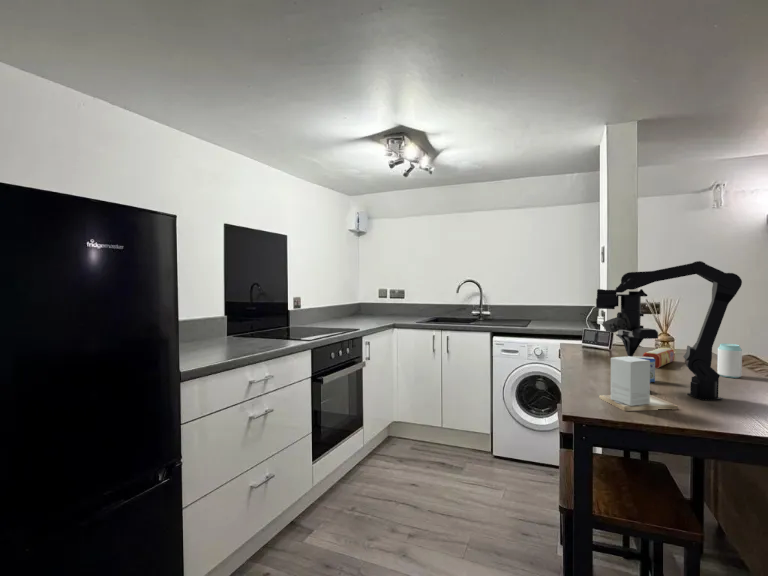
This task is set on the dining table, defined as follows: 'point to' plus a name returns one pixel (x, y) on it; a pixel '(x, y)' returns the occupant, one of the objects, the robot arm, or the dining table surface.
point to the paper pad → (653, 405)
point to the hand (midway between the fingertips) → (630, 356)
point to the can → (729, 361)
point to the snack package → (661, 356)
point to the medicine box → (652, 366)
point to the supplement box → (630, 380)
